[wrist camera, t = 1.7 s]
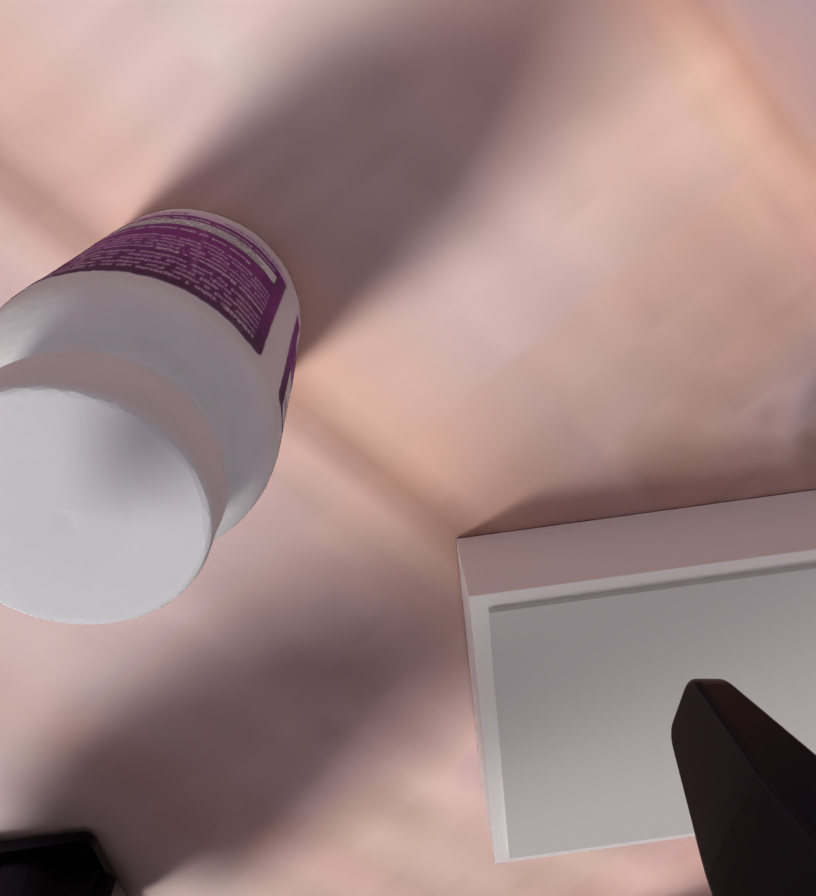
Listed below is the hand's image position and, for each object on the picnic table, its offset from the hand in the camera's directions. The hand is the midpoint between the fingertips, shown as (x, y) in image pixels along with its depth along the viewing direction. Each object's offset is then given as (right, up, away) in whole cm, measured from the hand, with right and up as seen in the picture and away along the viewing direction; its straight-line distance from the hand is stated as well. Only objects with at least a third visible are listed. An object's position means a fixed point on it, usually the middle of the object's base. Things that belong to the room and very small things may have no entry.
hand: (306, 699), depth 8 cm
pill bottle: (-4, +6, +10) cm, 13 cm away
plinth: (+9, -4, +17) cm, 20 cm away
